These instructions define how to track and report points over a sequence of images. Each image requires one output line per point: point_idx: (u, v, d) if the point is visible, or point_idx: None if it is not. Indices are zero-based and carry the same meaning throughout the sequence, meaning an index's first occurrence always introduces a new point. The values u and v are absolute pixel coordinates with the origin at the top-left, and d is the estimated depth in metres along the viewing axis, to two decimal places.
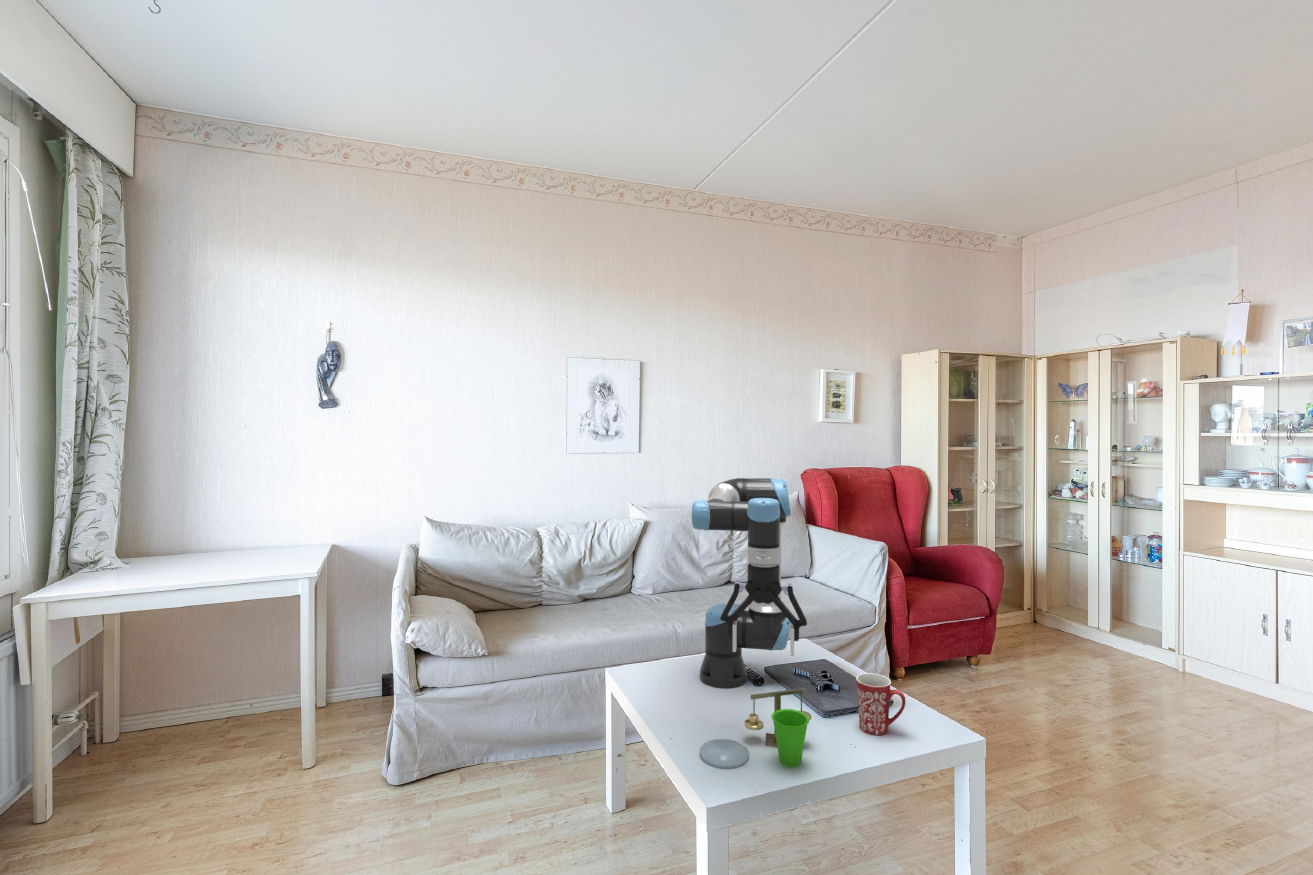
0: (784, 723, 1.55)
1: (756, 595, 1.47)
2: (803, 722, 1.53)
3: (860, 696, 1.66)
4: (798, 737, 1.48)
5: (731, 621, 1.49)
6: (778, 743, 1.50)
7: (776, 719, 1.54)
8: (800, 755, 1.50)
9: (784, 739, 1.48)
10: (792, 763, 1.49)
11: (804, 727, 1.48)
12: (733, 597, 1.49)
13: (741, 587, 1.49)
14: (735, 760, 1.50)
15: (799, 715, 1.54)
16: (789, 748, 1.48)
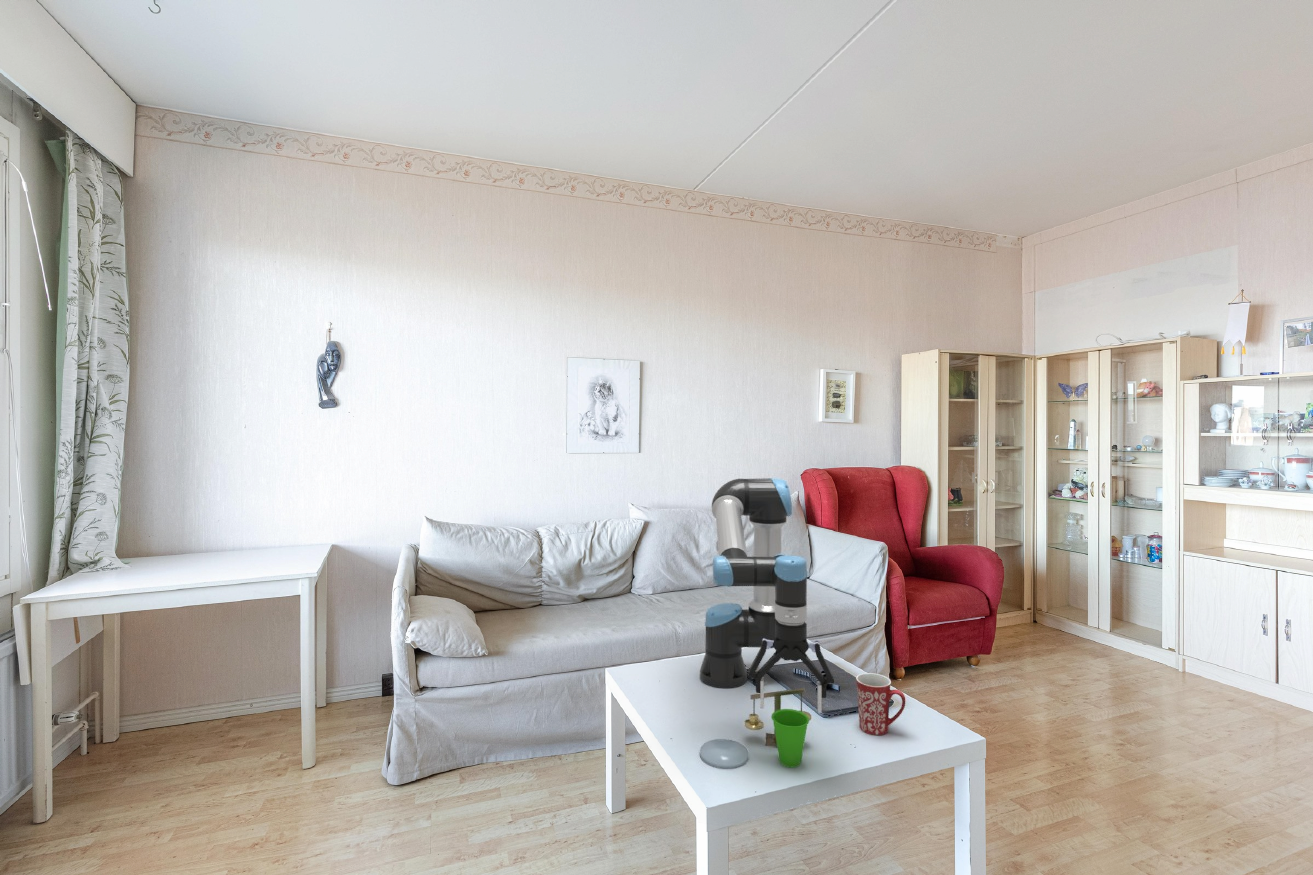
0: (784, 723, 1.55)
1: (784, 652, 1.49)
2: (803, 722, 1.53)
3: (860, 696, 1.66)
4: (798, 737, 1.48)
5: (759, 678, 1.51)
6: (778, 743, 1.50)
7: (776, 719, 1.54)
8: (800, 755, 1.50)
9: (784, 739, 1.48)
10: (792, 763, 1.49)
11: (804, 727, 1.48)
12: (761, 654, 1.51)
13: (769, 644, 1.51)
14: (735, 760, 1.50)
15: (798, 715, 1.54)
16: (789, 748, 1.48)
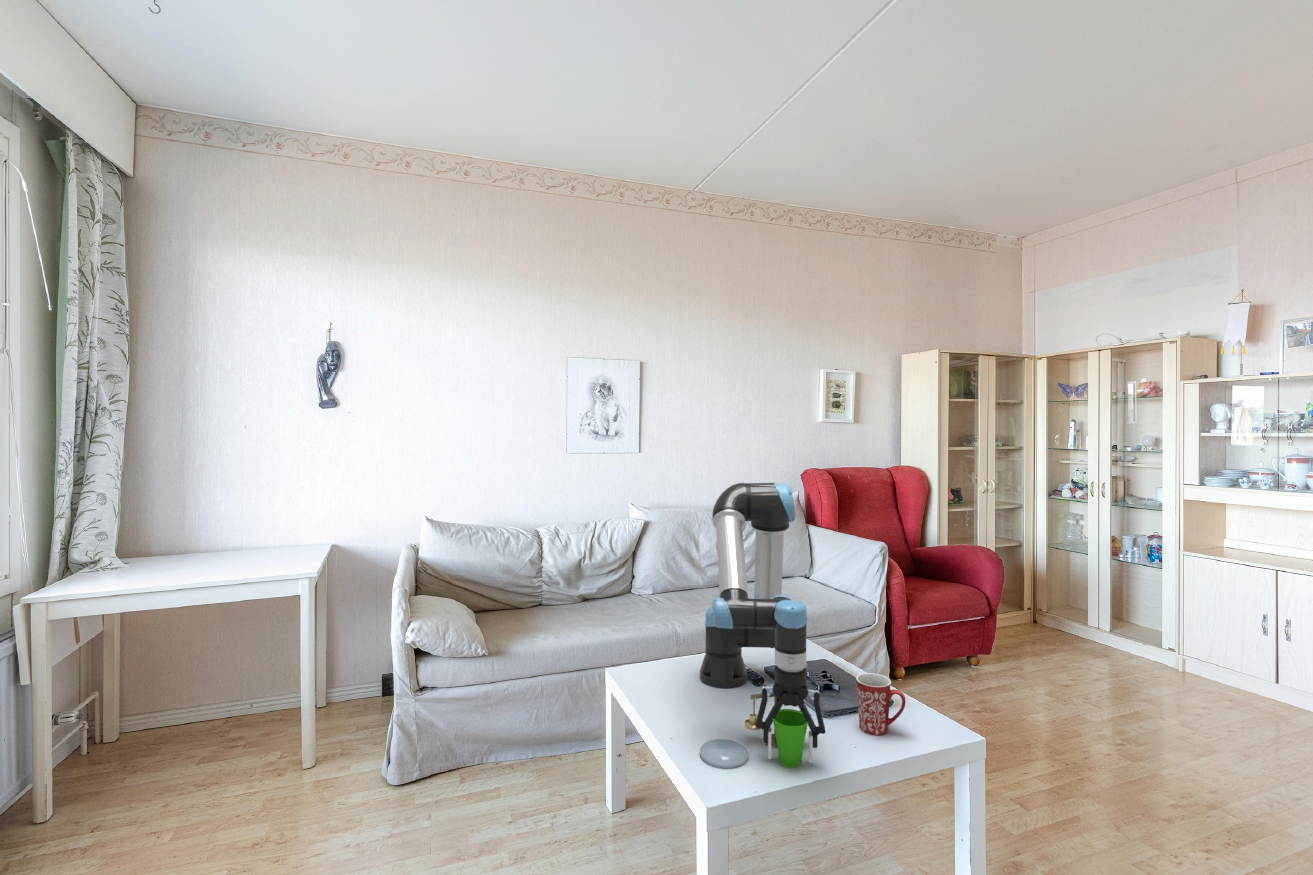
0: (784, 723, 1.55)
1: (784, 698, 1.50)
2: (803, 722, 1.53)
3: (860, 696, 1.66)
4: (798, 737, 1.48)
5: (766, 728, 1.51)
6: (778, 743, 1.50)
7: (776, 719, 1.54)
8: (800, 755, 1.49)
9: (784, 739, 1.48)
10: (792, 763, 1.49)
11: (804, 727, 1.48)
12: (763, 703, 1.51)
13: (769, 691, 1.52)
14: (735, 760, 1.50)
15: (799, 715, 1.54)
16: (789, 748, 1.48)
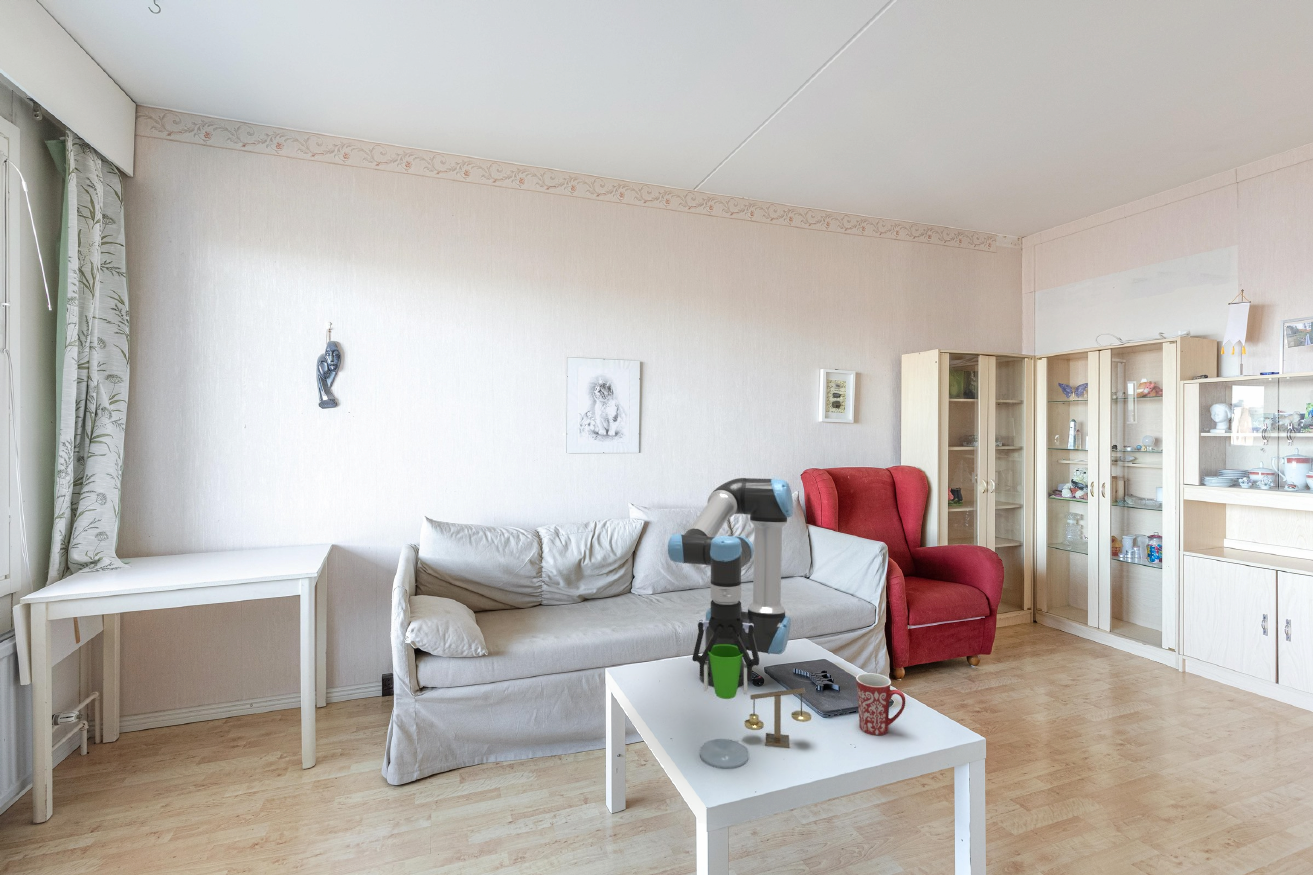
0: None
1: (719, 631, 1.52)
2: (739, 656, 1.55)
3: (860, 696, 1.66)
4: (732, 668, 1.50)
5: (702, 661, 1.54)
6: (713, 675, 1.53)
7: (713, 653, 1.56)
8: (735, 687, 1.52)
9: (718, 671, 1.51)
10: (727, 694, 1.51)
11: (738, 659, 1.51)
12: (699, 636, 1.54)
13: (705, 625, 1.54)
14: (735, 760, 1.50)
15: (735, 650, 1.57)
16: (723, 679, 1.51)
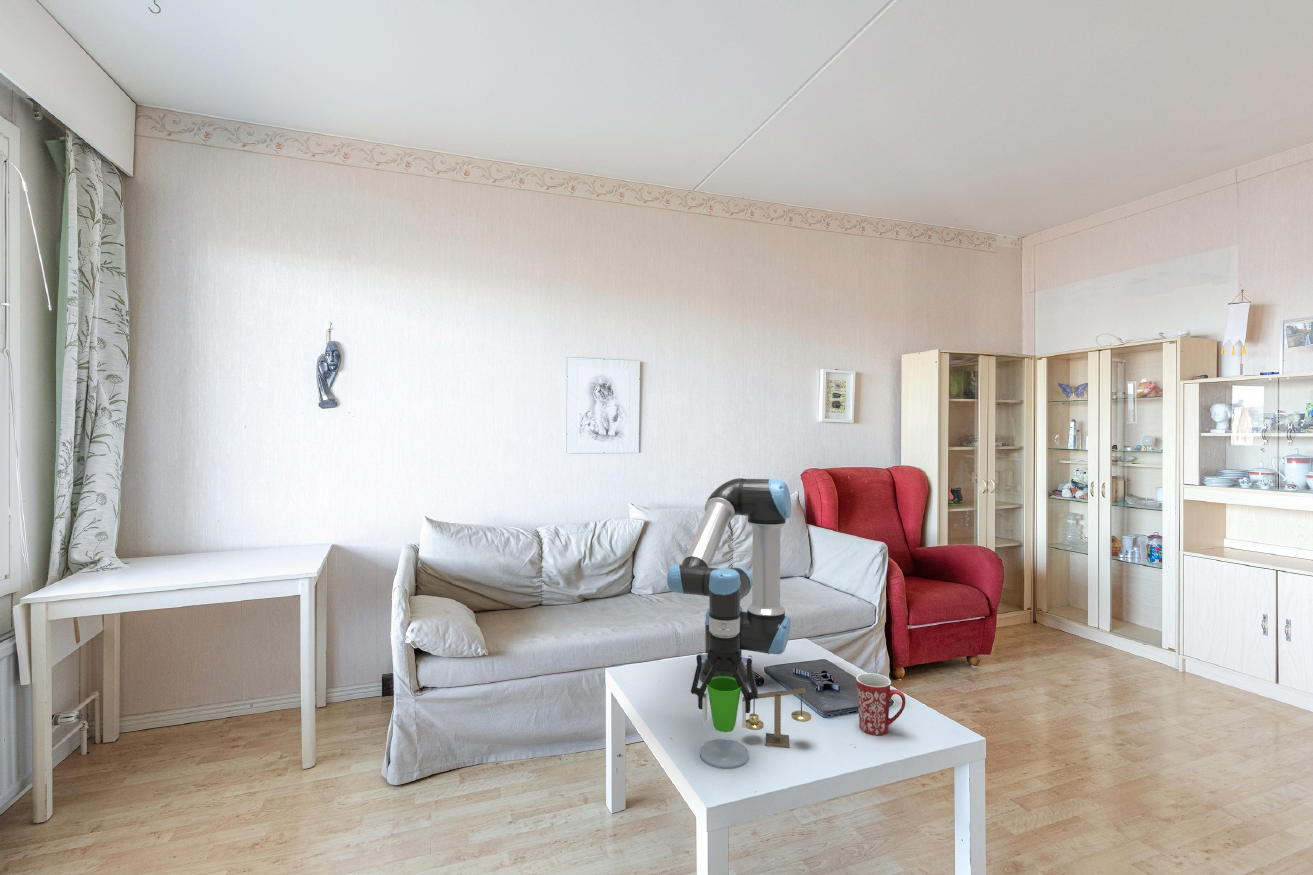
0: (720, 690, 1.58)
1: (718, 664, 1.52)
2: (737, 688, 1.55)
3: (860, 696, 1.66)
4: (731, 702, 1.51)
5: (701, 694, 1.54)
6: (712, 708, 1.53)
7: (711, 686, 1.56)
8: (733, 720, 1.52)
9: (717, 704, 1.51)
10: (725, 728, 1.52)
11: (736, 692, 1.51)
12: (698, 669, 1.54)
13: (703, 657, 1.54)
14: (735, 760, 1.50)
15: (733, 682, 1.57)
16: (722, 713, 1.51)
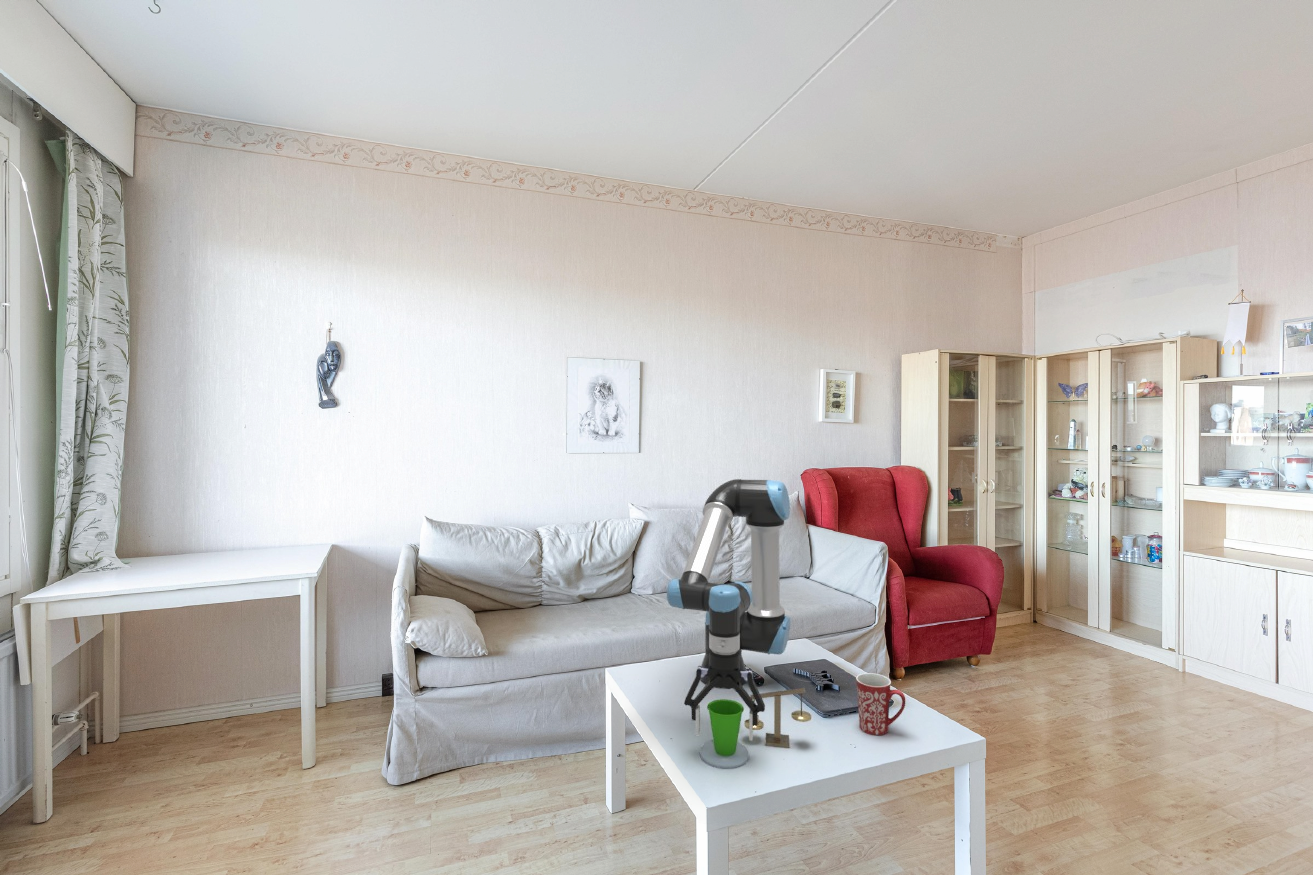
0: (721, 713, 1.58)
1: (717, 681, 1.53)
2: (738, 712, 1.56)
3: (860, 696, 1.66)
4: (732, 726, 1.51)
5: (694, 705, 1.54)
6: (713, 732, 1.53)
7: (713, 709, 1.57)
8: (734, 744, 1.53)
9: (718, 728, 1.52)
10: (726, 752, 1.52)
11: (737, 716, 1.52)
12: (695, 682, 1.54)
13: (703, 672, 1.55)
14: (735, 760, 1.50)
15: (735, 706, 1.57)
16: (723, 737, 1.51)
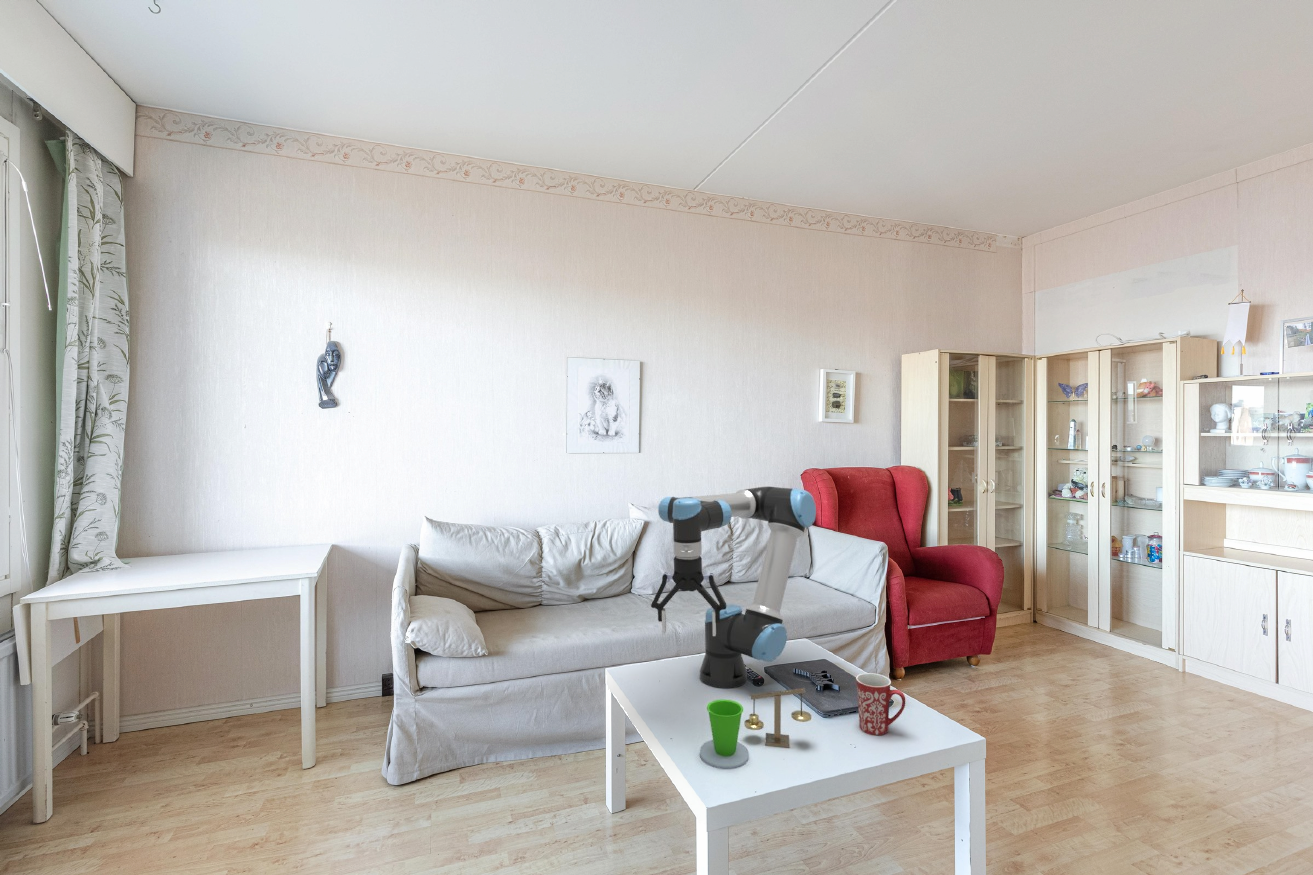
0: (721, 713, 1.58)
1: (681, 584, 1.66)
2: (738, 712, 1.56)
3: (860, 696, 1.66)
4: (731, 726, 1.51)
5: (660, 608, 1.68)
6: (713, 732, 1.53)
7: (712, 709, 1.57)
8: (734, 744, 1.52)
9: (717, 728, 1.52)
10: (726, 752, 1.52)
11: (737, 717, 1.51)
12: (661, 586, 1.68)
13: (668, 577, 1.68)
14: (735, 760, 1.50)
15: (734, 706, 1.57)
16: (722, 737, 1.51)
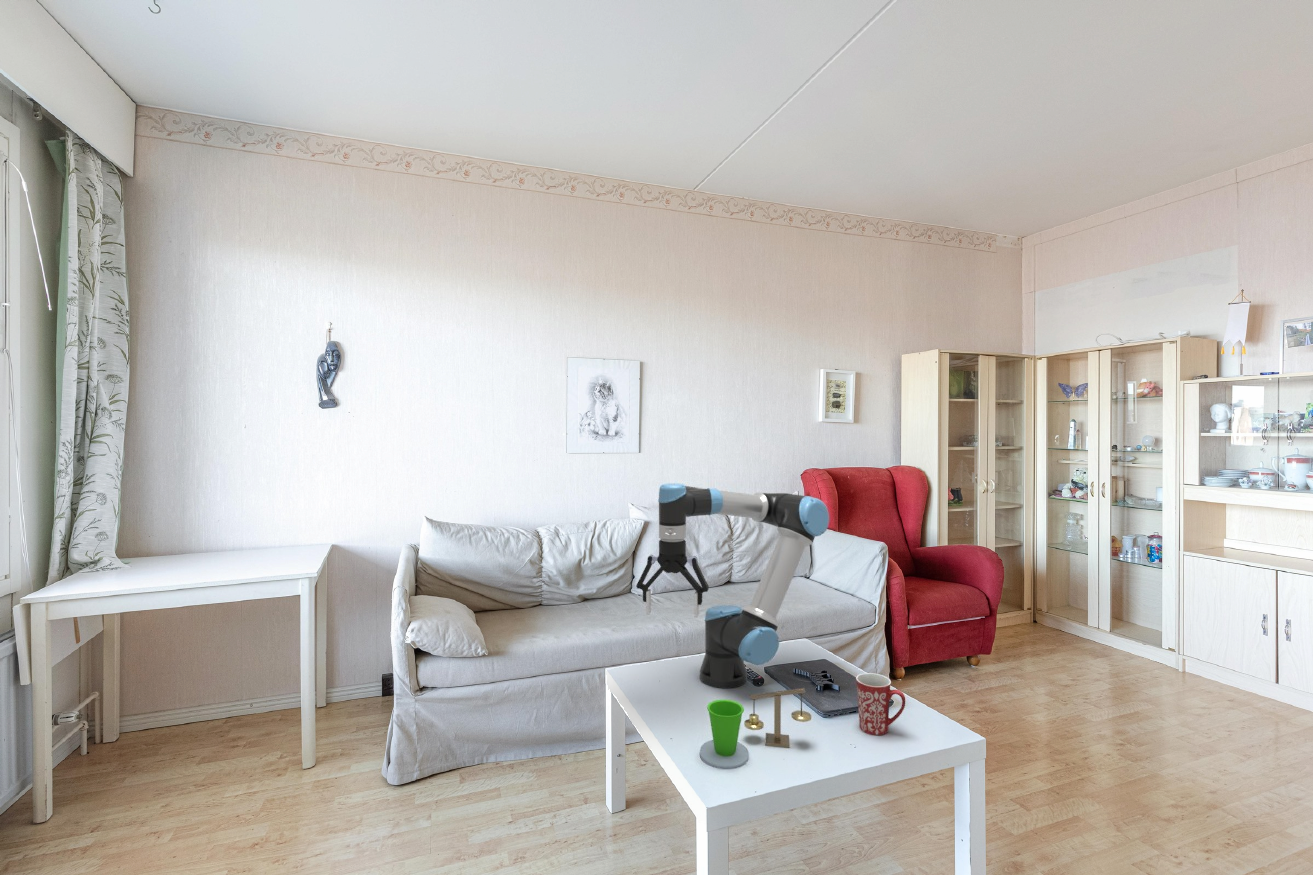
0: (721, 713, 1.58)
1: (665, 566, 1.73)
2: (739, 712, 1.55)
3: (860, 696, 1.66)
4: (732, 727, 1.51)
5: (645, 588, 1.75)
6: (713, 732, 1.53)
7: (713, 709, 1.57)
8: (734, 744, 1.52)
9: (718, 729, 1.52)
10: (726, 752, 1.52)
11: (737, 717, 1.51)
12: (646, 568, 1.74)
13: (653, 559, 1.75)
14: (735, 760, 1.50)
15: (735, 706, 1.57)
16: (722, 737, 1.51)
